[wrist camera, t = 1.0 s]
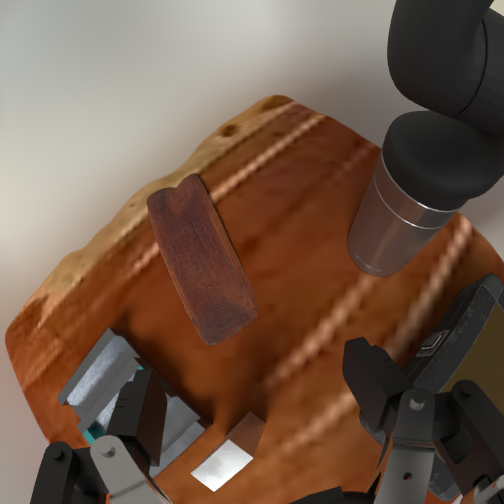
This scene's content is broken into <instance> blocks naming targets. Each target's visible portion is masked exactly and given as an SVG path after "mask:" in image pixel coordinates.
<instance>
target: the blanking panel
mask: <svg viewBox="0 0 504 504" xmlns="http://www.w3.org/2000/svg"><path fill="white" fill-rule="evenodd" d="M265 424H266V423H265V422H264V421H262V420H261V419H260V418H259V417H257V416H256V415H255V414H253V413H252V412H251V411H250V412H249V413H248V414H247V415H246V416H245V417H244V418H243V419H242V420H241V421H240V422H239V423H238V424H237V425H236V426H235V427H234V428H233V429H232V430H231V431H230V432H229V433H228V434H227V435H226V436H225V437H224V438H223V439H222V441H221V442H220V443H219V444H218V445H217V446H216V447H215V448H214V449H213V451H212V452H211V453H210V454H209V455H208V456H207V457H206V458H205V459H204V460H203V461H202V462H201V464H200V465H199V466H198V467H197V468H196V469H195V470H194V471H193V472H192V473H191V474H192V475H193V476H194V477H196V478H197V479H198V480H199V481H201V482H202V483H203V484H205V485H206V486H207V487H208V488H210V489H211V490H213V491H215V490H217V489H218V488H219V487H220V486H222V485H223V484H224V483H225V482H227V481H228V480H229V479H230V478H231V477H232V476H234V475H235V474H236V473H237V472H238V471H239V470H241V469H242V468H243V467H244V466H245V465H246V464H247V463H248V462H250V461H251V460H252V459H253V458H254V455H255V452H256V450H257V447H258V444H259V441H260V438H261V436H262V433H263V430H264V427H265Z"/></svg>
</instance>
